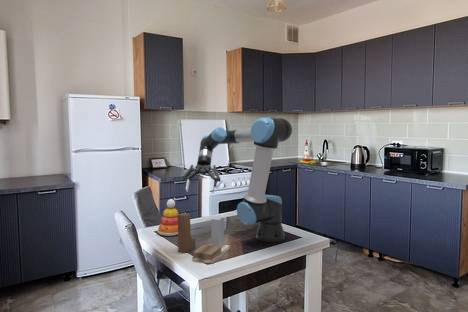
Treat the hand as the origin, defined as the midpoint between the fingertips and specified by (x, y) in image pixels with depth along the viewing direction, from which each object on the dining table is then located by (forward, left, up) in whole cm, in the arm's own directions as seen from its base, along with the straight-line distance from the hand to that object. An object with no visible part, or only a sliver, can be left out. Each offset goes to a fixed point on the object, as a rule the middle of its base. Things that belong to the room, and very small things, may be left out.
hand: (199, 191), depth 183 cm
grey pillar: (-14, +10, -25) cm, 30 cm away
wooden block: (0, +15, -26) cm, 30 cm away
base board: (-14, +17, -26) cm, 34 cm away
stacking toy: (+21, -6, -26) cm, 34 cm away
